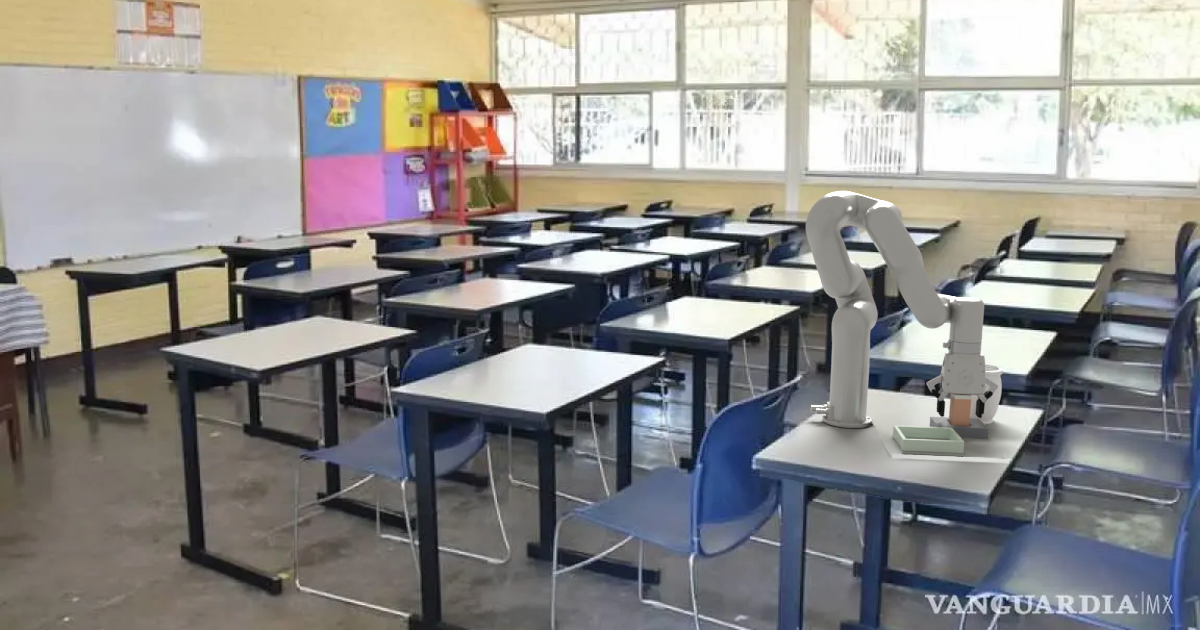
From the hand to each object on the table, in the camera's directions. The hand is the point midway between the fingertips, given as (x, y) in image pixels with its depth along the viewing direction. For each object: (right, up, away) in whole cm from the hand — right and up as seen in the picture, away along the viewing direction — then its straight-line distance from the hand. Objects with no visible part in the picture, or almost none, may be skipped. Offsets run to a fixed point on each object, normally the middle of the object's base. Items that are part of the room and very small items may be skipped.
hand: (959, 415), depth 257 cm
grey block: (0, -5, +1) cm, 5 cm away
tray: (-11, -7, -10) cm, 16 cm away
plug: (0, -4, +1) cm, 4 cm away
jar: (+9, -3, +13) cm, 16 cm away
